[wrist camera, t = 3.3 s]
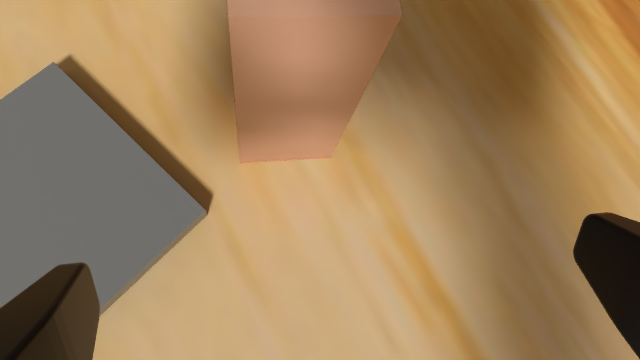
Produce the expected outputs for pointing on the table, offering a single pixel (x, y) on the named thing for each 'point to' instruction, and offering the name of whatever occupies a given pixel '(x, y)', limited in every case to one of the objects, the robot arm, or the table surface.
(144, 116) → the table surface
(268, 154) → the tall pink block
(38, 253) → the slate coaster
